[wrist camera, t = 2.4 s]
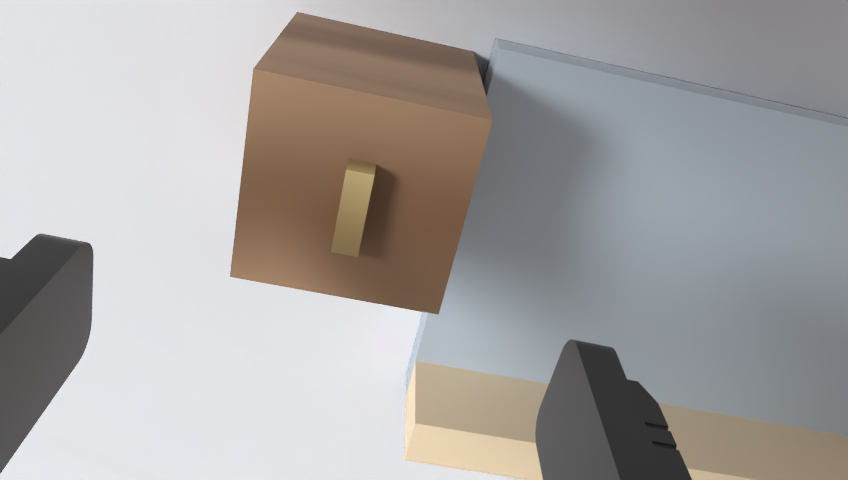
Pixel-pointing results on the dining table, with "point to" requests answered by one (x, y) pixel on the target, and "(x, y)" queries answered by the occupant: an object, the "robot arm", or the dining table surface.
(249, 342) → the dining table surface
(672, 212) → the board
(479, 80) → the walnut box
